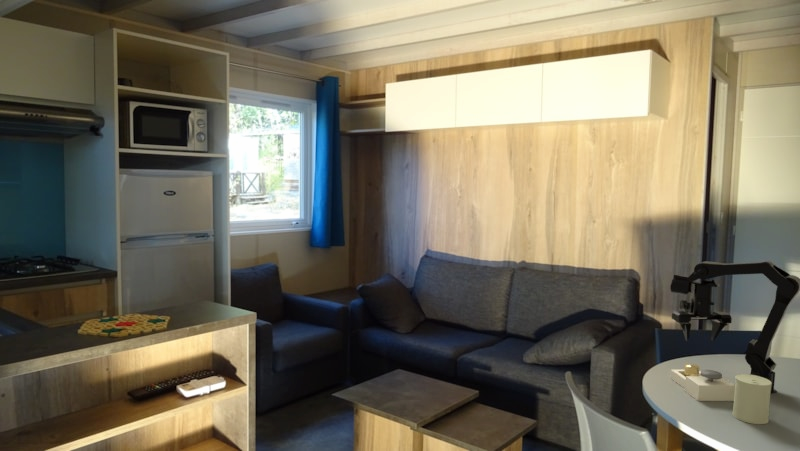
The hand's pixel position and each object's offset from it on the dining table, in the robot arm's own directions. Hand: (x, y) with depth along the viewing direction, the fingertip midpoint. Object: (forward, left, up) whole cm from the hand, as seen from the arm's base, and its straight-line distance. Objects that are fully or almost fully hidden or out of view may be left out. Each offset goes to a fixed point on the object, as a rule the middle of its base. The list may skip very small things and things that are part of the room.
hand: (699, 340), depth 206 cm
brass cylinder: (+7, +9, -12) cm, 17 cm away
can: (+4, +36, -12) cm, 38 cm away
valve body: (+7, +14, -12) cm, 20 cm away
